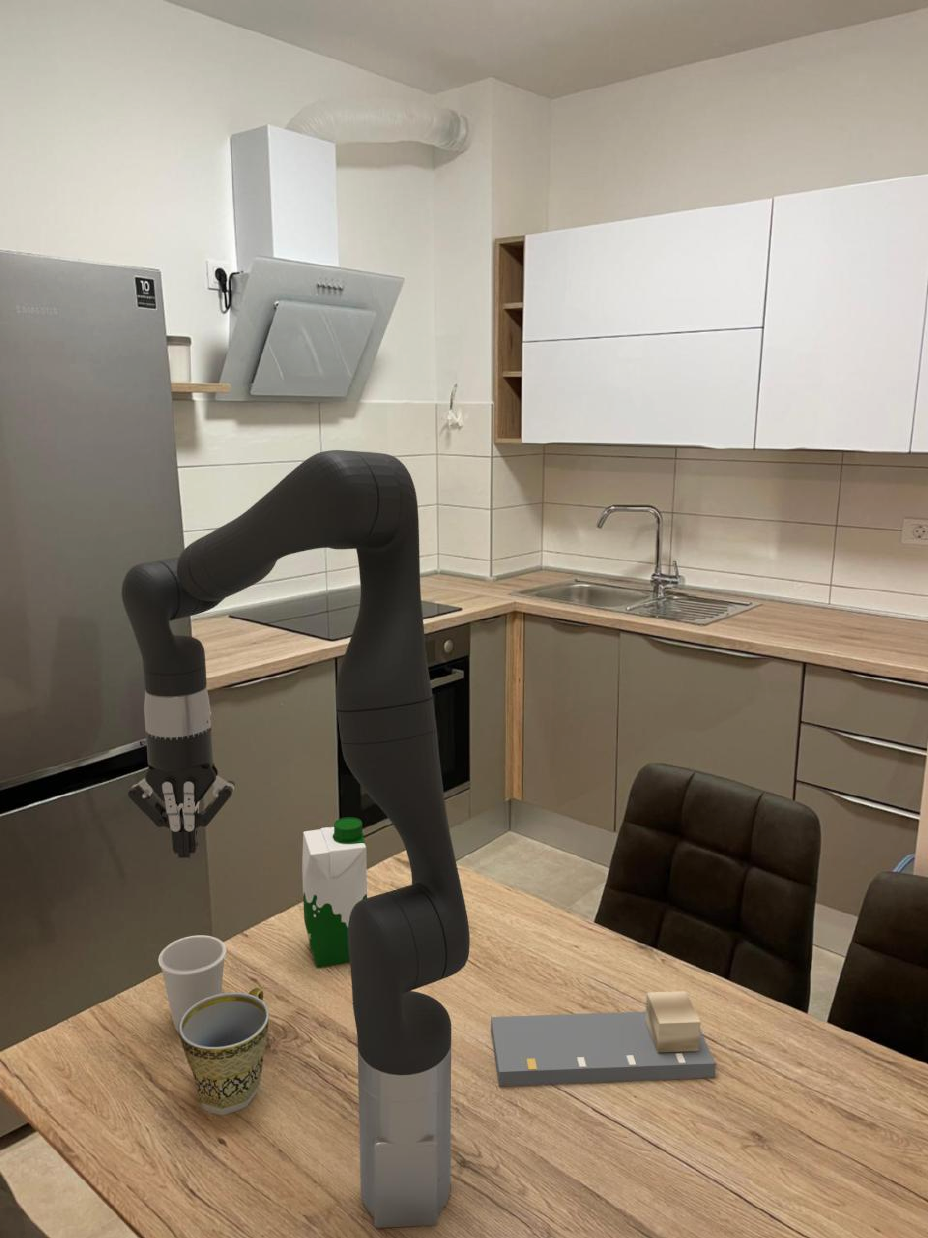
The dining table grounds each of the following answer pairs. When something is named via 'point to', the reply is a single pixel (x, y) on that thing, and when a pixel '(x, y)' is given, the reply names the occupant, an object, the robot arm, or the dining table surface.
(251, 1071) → the ceramic cup
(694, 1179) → the dining table surface
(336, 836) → the soya milk
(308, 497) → the robot arm
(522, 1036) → the board
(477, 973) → the dining table surface
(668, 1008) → the knob
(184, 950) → the dixie cup
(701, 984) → the dining table surface
